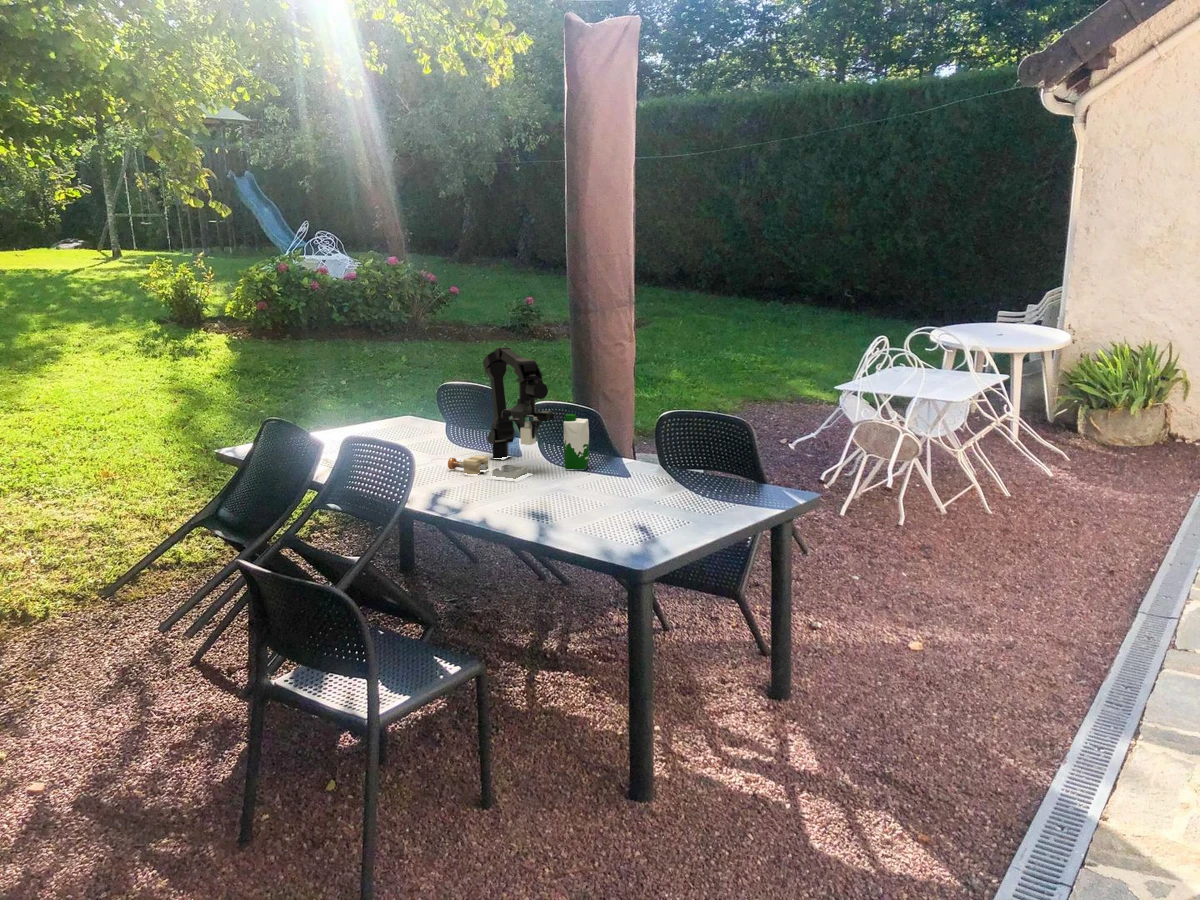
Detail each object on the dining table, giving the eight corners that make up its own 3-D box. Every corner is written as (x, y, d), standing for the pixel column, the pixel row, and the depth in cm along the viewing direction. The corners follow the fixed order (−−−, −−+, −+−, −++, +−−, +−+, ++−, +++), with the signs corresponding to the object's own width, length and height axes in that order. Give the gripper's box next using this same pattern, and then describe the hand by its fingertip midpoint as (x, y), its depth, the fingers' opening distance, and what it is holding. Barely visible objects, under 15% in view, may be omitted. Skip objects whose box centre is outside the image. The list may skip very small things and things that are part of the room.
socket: (504, 471, 344) (503, 463, 344) (533, 474, 339) (532, 466, 339) (486, 479, 334) (486, 470, 333) (516, 482, 329) (516, 474, 328)
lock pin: (454, 467, 349) (454, 456, 348) (488, 471, 343) (488, 460, 342) (448, 470, 345) (447, 459, 344) (482, 474, 339) (482, 462, 338)
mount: (476, 469, 347) (476, 455, 346) (488, 471, 345) (488, 456, 344) (463, 475, 340) (463, 460, 338) (475, 476, 338) (475, 461, 336)
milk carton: (566, 465, 354) (566, 412, 349) (590, 466, 352) (590, 412, 348) (562, 470, 345) (561, 416, 341) (586, 471, 344) (586, 417, 339)
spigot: (526, 442, 347) (525, 420, 345) (535, 442, 345) (535, 421, 344) (520, 444, 344) (520, 422, 342) (530, 445, 342) (529, 423, 340)
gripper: (493, 397, 337) (494, 440, 341) (539, 400, 330) (540, 444, 333) (508, 392, 347) (510, 434, 351) (554, 395, 340) (554, 438, 343)
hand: (528, 438), depth 344 cm, fingers closed on spigot, 4 cm apart
